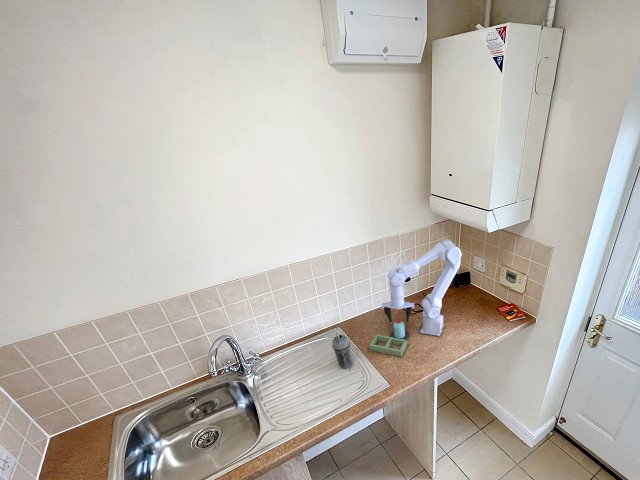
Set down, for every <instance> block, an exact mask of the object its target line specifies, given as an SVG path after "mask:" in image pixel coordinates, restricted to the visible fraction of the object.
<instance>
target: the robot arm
mask: <svg viewBox="0 0 640 480" xmlns="http://www.w3.org/2000/svg"><path fill="white" fill-rule="evenodd" d="M462 256H463V253H462V251H461V249H460V248H459V247H457V245H455V244H454V242H453V241H451V240H450V239H443V240H441V241H440V242H438V243H436V244H435V246H434V247H433V248H431V249H430V250H429V251H427V252H426V253H424V254H423V255H422V256H420V257H418V258H416V260H415V259H410V260H409V259H408V260H406V261H405V263H404V264H402V265H400V266H397V267H396V268H392V269H390V270H389V271H388V273H387V278H388V281H389V293H390V294H389V295H390V301H387V302H381V305H380V307H381V309H382V310H383V313H384V314H385V316H386V317H387V318H388V321H389V323H392V320H393V318H392V309H393V310H401V309H402V310H403V309H405V316H406V320H405V323H409V318H410V316H411V314H412V312H413V311H412V310H414V309H415V302H409V301H405V295H404V283H405V281H406V280H407V279H409V278H410V277H412V276H413V275H415V274H417V273H419V271H420V268H422V267H424V266H426V265H427V264H429V263H432V262H434V261H435V260H441V261H445V263H446V264H445V267H444V268H443V270H442V272H441V273H440V275H439V278H438V279H437V281H436V282H435V285H434V287H433V289H432V290H431V292H430V293H428V294H426V295H425V297H424V298H423V299H422V300H421V302H420V306H421V308H422V309H423V310H422V327H421V329H420V334H424V335H425V334H427V335H431V336H437V337H440V336H441V335H442V334H441V333H442V332H443V330H444V315H443V314H441V309H442V308H443V306H442V305H443V304H442V303H443V301H442V299H443V298H444V296H445V294H446V292H447V291H448V288H449V287H450V285H451V284H452V281H453V279H454V278H455V276H456V274H457V272H458V270H459V268H460V267H461V258H462Z"/></svg>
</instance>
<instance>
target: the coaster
mask: <svg viewBox="0 0 640 480" xmlns="http://www.w3.org/2000/svg"><path fill="white" fill-rule="evenodd" d="M390 337H392V338H396V337H395V336H394V331H392V333H391V335H390ZM408 338H409V332H407V330H405V336H404V337H403V338H398V339H403V340H408Z"/></svg>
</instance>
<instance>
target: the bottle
mask: <svg viewBox="0 0 640 480" xmlns="http://www.w3.org/2000/svg"><path fill="white" fill-rule="evenodd" d="M405 331H406V330H405V322H403V321H402V319H401V318H397V319H396V320H395V321H394V323H393V332H394V336H395V337H396V338H403V337H404V336H405Z"/></svg>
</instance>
